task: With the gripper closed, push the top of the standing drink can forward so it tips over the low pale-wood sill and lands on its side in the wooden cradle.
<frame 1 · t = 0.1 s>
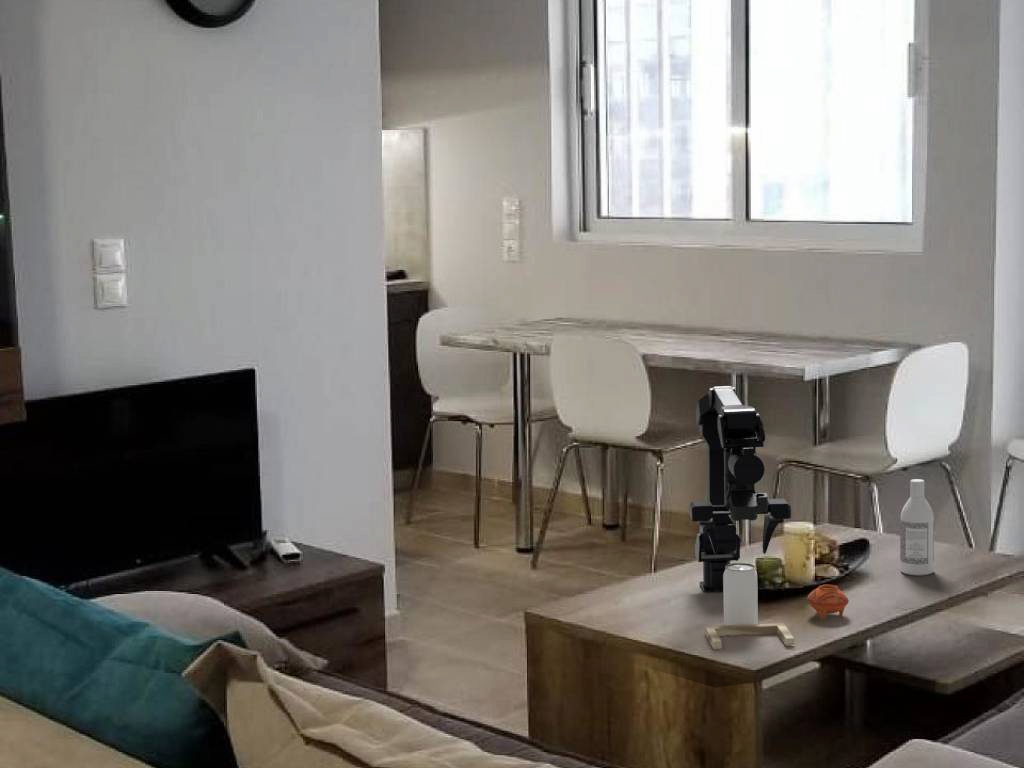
hand: (740, 553, 312), 14 cm above the table, tool pointing down, fingers open, 9 cm apart
can: (740, 628, 314), on the table
bath foam: (916, 572, 349), on the table
pot: (827, 617, 319), on the table
cradle: (745, 633, 310), on the table
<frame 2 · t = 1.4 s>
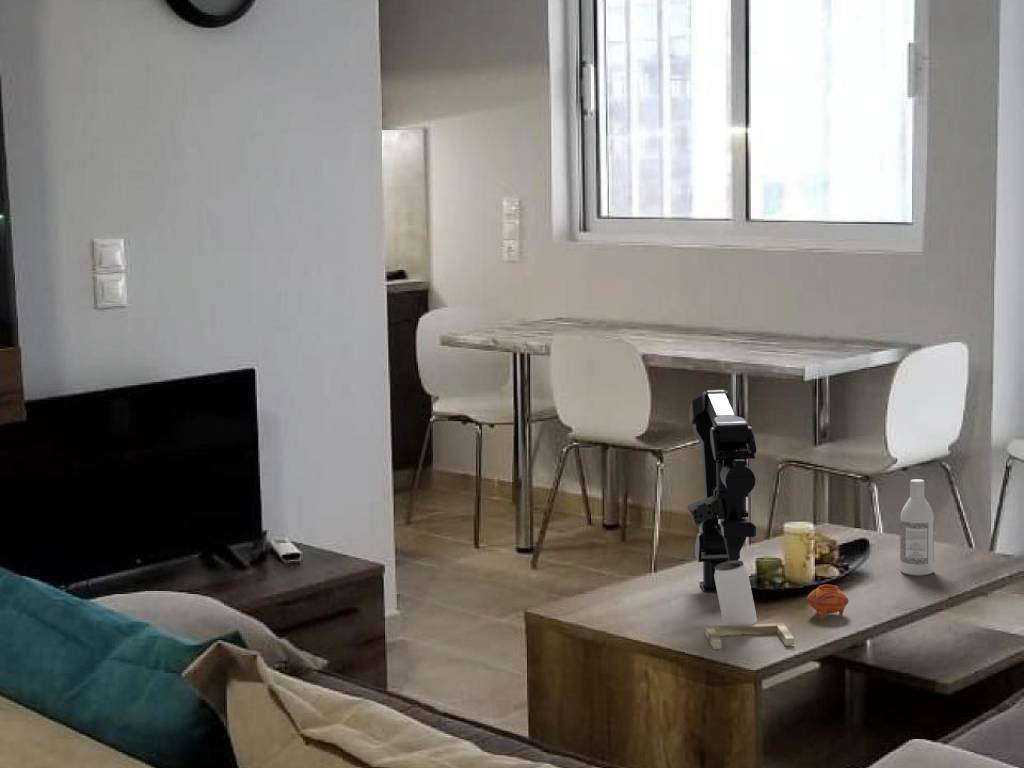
hand: (732, 562, 321), 10 cm above the table, tool pointing down, fingers closed
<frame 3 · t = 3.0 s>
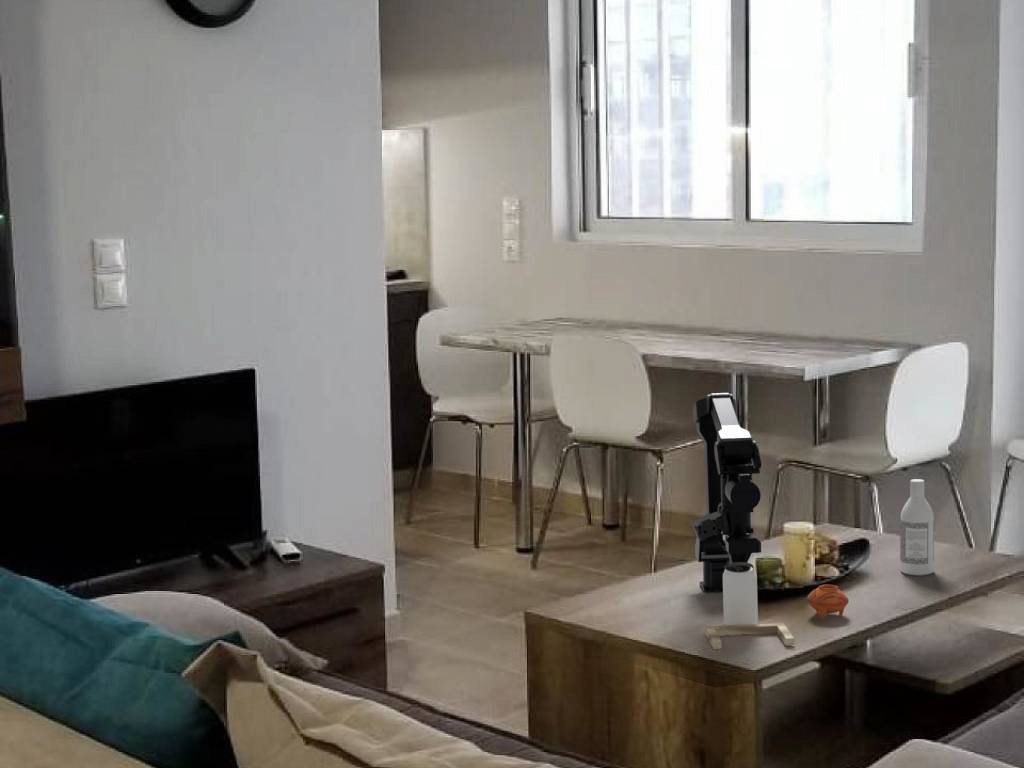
hand: (737, 578, 316), 8 cm above the table, tool pointing down, fingers closed
can: (740, 626, 314), on the table, touching gripper
everything else where it was.
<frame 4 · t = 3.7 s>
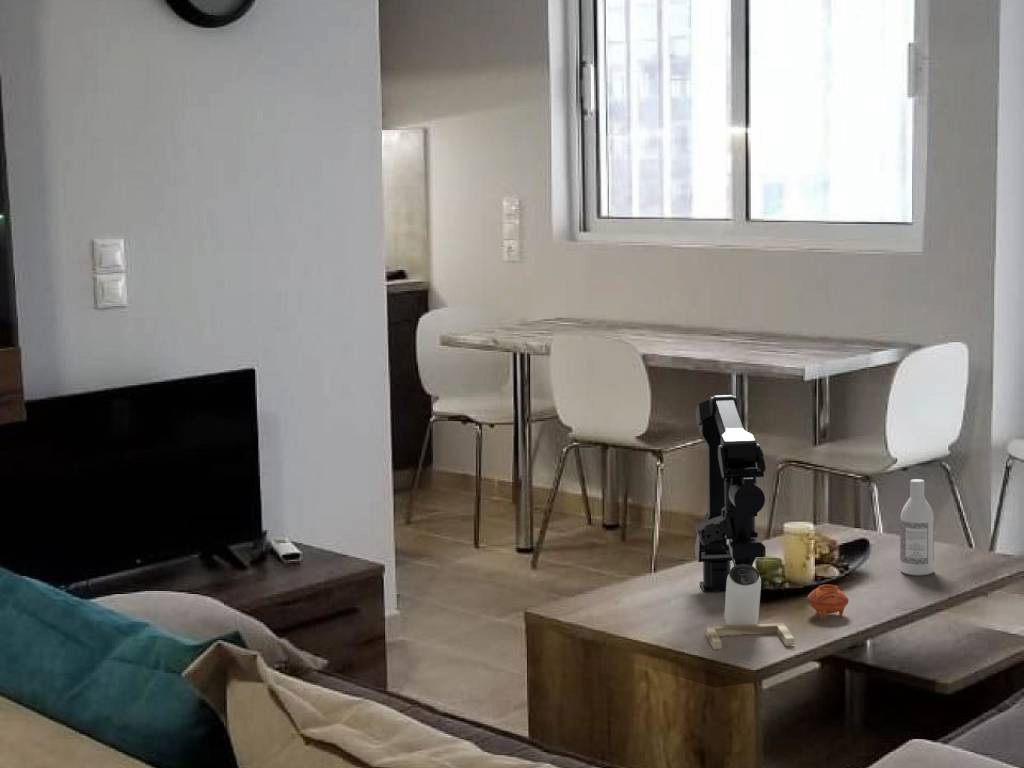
hand: (741, 583, 312), 9 cm above the table, tool pointing down, fingers closed
can: (741, 619, 314), point 1 cm above the table, touching cradle, gripper
everything else where it was.
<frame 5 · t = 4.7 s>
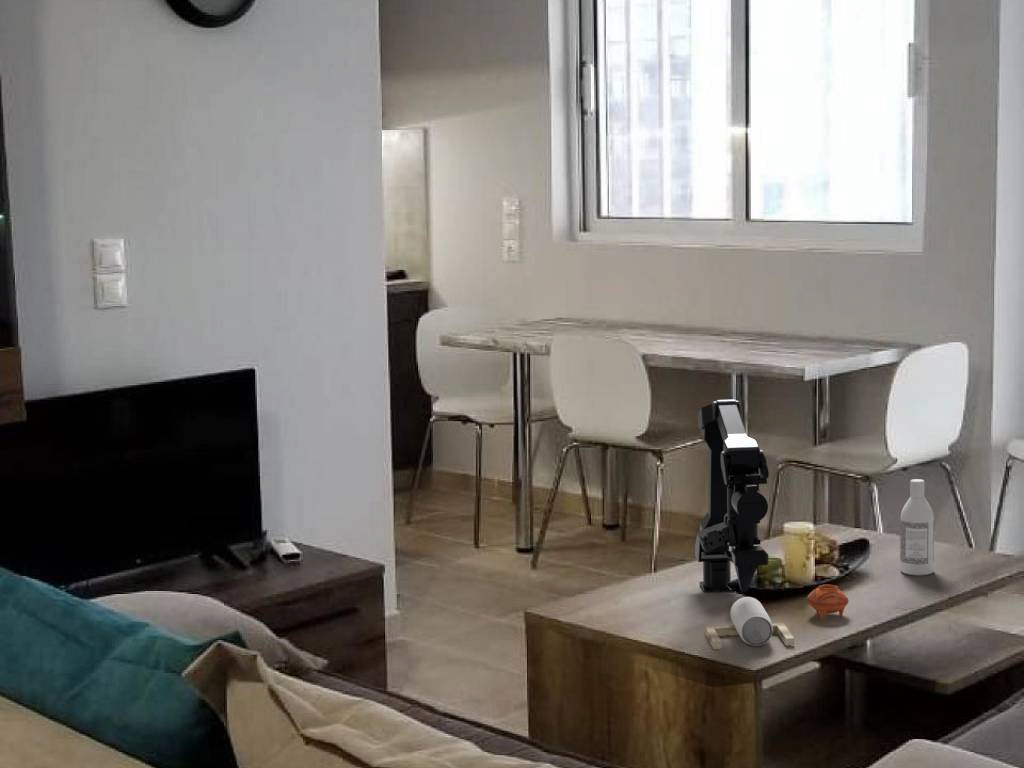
hand: (743, 590, 310), 8 cm above the table, tool pointing down, fingers closed
can: (746, 612, 312), point 3 cm above the table
everything else where it was.
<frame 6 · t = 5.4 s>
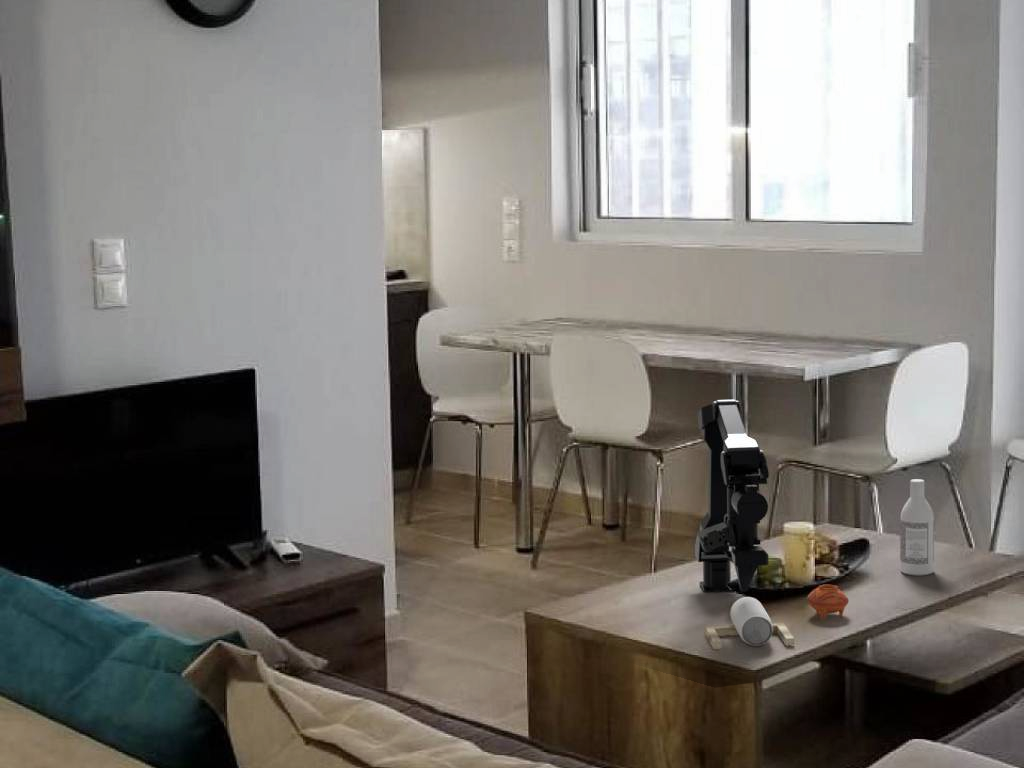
hand: (743, 590, 310), 8 cm above the table, tool pointing down, fingers closed
nothing on the table moved.
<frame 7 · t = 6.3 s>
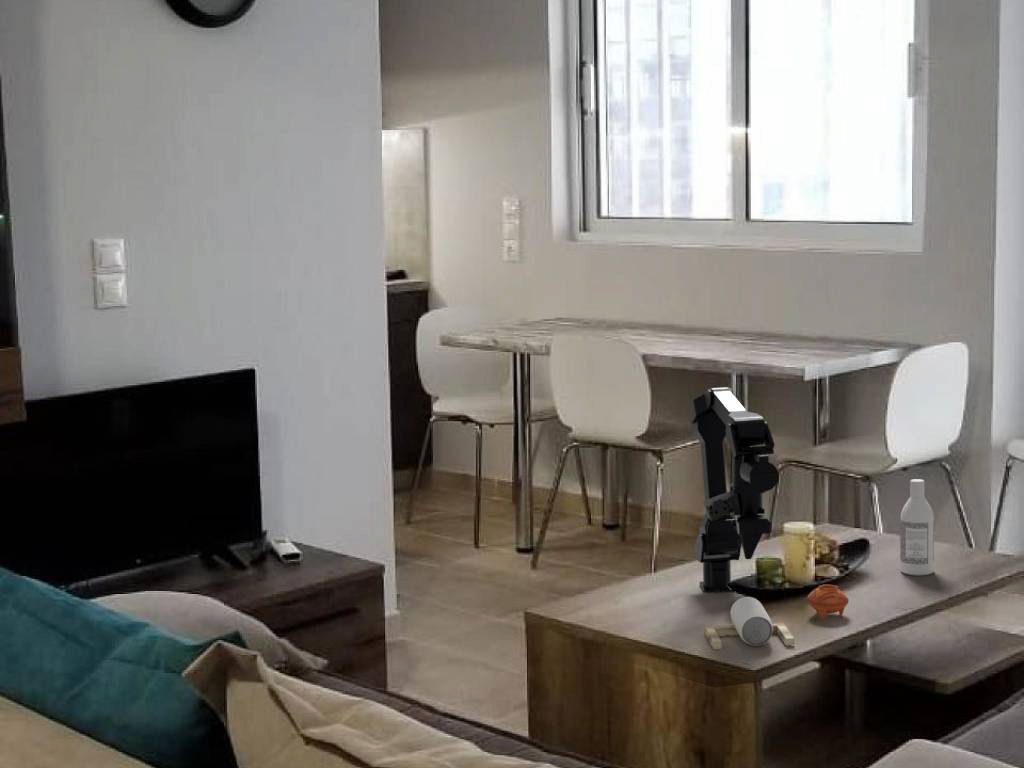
hand: (748, 558, 319), 12 cm above the table, tool pointing down, fingers closed
nothing on the table moved.
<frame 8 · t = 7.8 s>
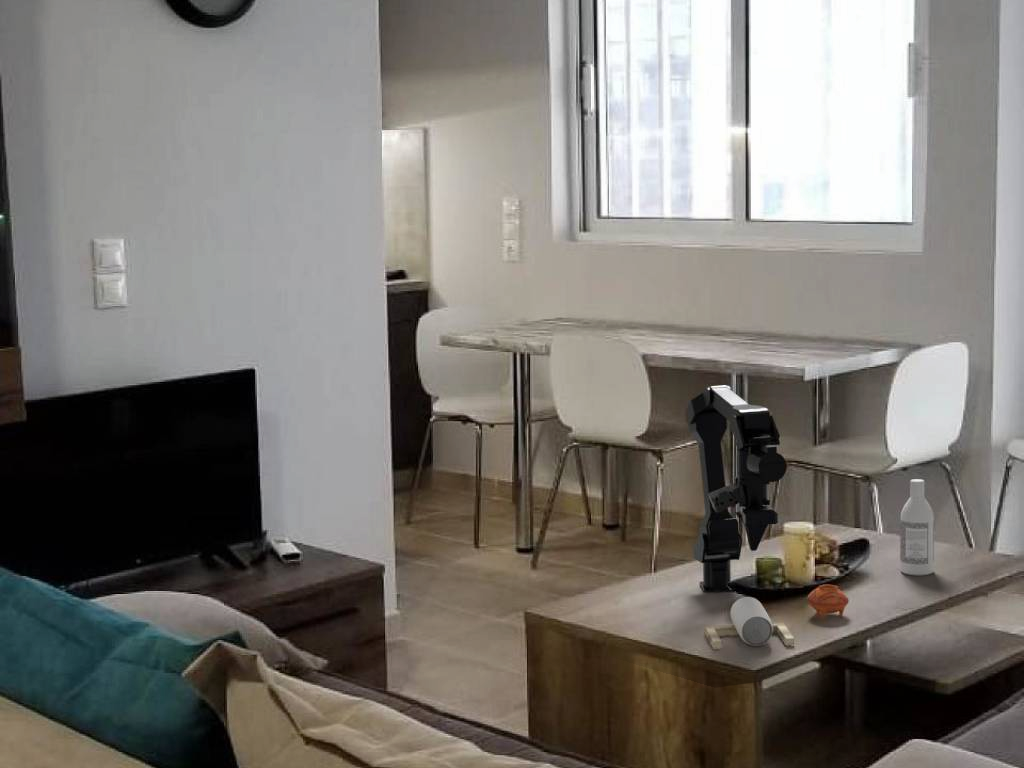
hand: (753, 550, 320), 13 cm above the table, tool pointing down, fingers closed
nothing on the table moved.
at the end: can tilted 90°; can inside the target area (9.6 cm from its centre), point 3.2 cm above the table; the gripper is holding nothing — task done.
